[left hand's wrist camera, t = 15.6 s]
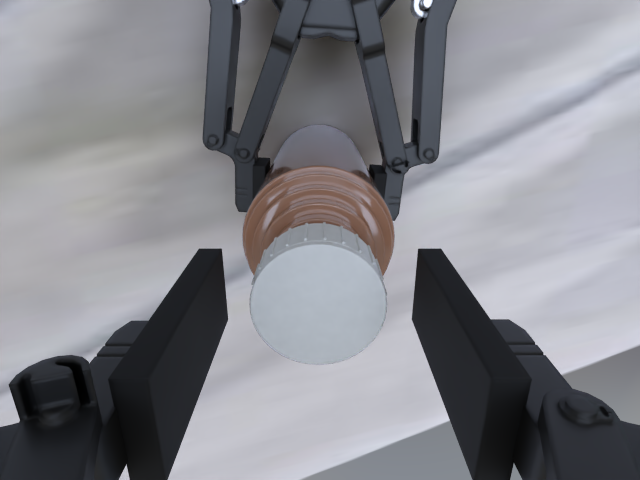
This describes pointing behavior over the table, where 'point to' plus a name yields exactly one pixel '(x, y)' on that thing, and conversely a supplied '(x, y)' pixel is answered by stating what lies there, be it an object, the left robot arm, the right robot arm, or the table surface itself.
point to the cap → (318, 294)
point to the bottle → (318, 194)
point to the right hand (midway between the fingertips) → (314, 259)
